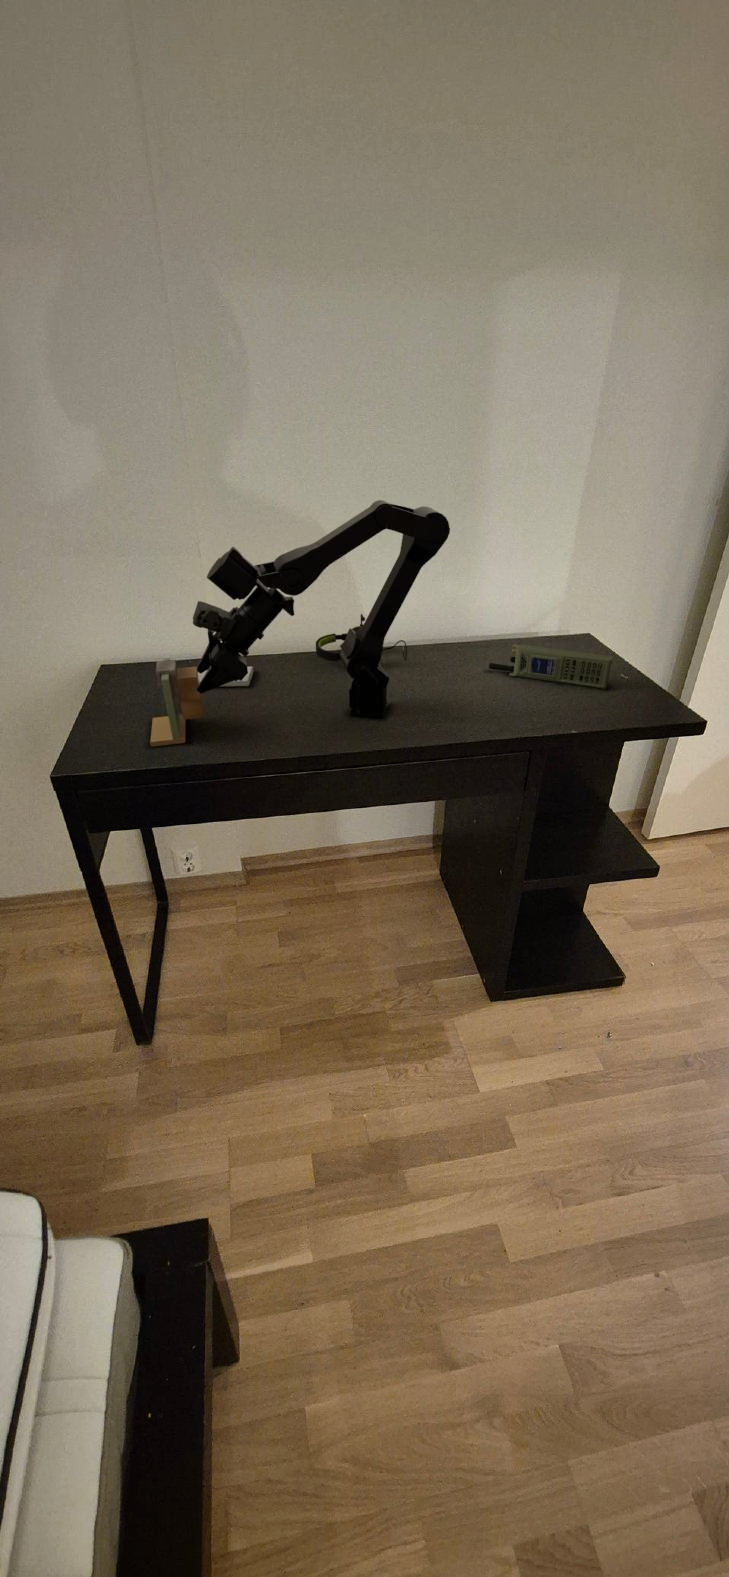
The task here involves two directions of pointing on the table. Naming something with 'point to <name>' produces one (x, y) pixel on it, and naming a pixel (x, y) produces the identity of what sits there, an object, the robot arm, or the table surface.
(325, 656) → the headphones
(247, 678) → the hard drive
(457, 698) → the table surface
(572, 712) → the table surface
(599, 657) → the handheld radio
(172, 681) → the lidded tan box
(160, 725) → the door panel
